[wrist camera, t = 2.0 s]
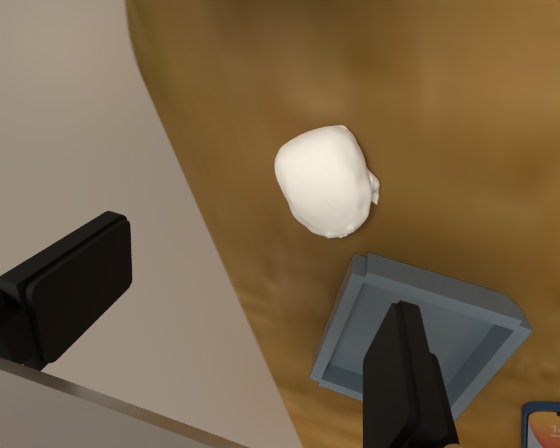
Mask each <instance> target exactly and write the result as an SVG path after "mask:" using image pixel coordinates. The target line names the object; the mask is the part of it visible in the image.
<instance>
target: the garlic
mask: <svg viewBox="0 0 560 448" xmlns="http://www.w3.org/2000/svg"><path fill="white" fill-rule="evenodd" d="M275 174H276V178H277V180H278V183H279V185H280V188H281V190H282V192H283V194H284V196H285V198H286V199H287V201H288V203H289V206H290V210H291V212H292V214H293V216H294V217H295V218H296V219H297V220H298V221H299V222H300V223H301V224H303V225H304V226H306V227H307V228H308V229H309V230H310V231H311V232H313V233H315V234H318V235H321V236H325V237H327V238H334V237H339V238H342V237H343V236H344V237H346V236H347V235H348V234H350V233H352V232H354V231H355V230H357V229H358V228H359V227H360V226H361V225H362V224H363V223H364V221H365V220H366V219H367V217H368V215H369V210H370V204H371V201H372V202H374V203H375V204H377V201H378V197H379V195H378V192H379V188H380V183H379V181H378V179H377V178H376V177H375V176H374V175H373V174H372V173H371V172H370V171H369V170H368V168H367V166H366V162H365V159H364V156H363V153H362V151H361V149H360V147H359V145H358V144H357V141H356V139H355V137H354V135H353V134H352V133H351V132H350V131H349V130H348V129H347V128H346V127H345V126H342V125H339V126H327V127H322V128H318V129H314V130H311V131H308V132H305V133H303V134H301V135H299V136H297V137H296V138H294V139H292V140H290V141H289V142H287V143H286V144H284V145H283V146H282V147H281V148H280V150H279V151H278V154H277V156H276V159H275Z"/></svg>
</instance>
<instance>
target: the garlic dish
mask: <svg viewBox="0 0 560 448" xmlns="http://www.w3.org/2000/svg"><path fill="white" fill-rule="evenodd" d="M400 300H402V301H405V302H409V303H412V304H415V305H418V306H419V308H420V311H421V316H422V320H423V324H424V329H425V333H426V337H427V342H428V346H429V350H430V353H433V354H435V355H436V356H437V358H438V361H439V365H440V369H441V373H442V377H443V381H444V385H445V389H446V393H447V396H448V400H449V404H450V408H451V412H452V416H453V420H454V421H455V420H456V419H457V417H458V416H459V415H460V414H461V413H462V412H463V411H464V409H465V408H466V407H467V406H468V405H469V404H470V403H471V401H472V400H473V399H474V398H475V397H476V396H477V395H478V393H479V392H480V391H481V390H482V389H483V388H484V386H485V385H486V384H487V383H488V382H489V381H490V380H491V378H492V377H493V376H494V375H495V374H496V373H497V372H498V370H499V369H500V368H501V367H502V366H503V365H504V364H505V362H506V361H507V360H508V359H509V358H510V357H511V355H512V354H513V353H514V352H515V351H516V350H517V349H518V347H519V346H520V345H521V344H522V343H523V342H524V341H525V339H526V338H527V337H528V336H529V335H530V334H531V333H532V331H533V329H532V327H531V326H530V324H529V322H528V321H527V319H526V317H525V316H524V314H523V312H522V311H521V309H520V307H519V305H518V304H516V303H513V302H511V300H510V298H509V296H508V295H506V294H503V293H499V292H496V291H493V290H490V289H486V288H483V287H480V286H477V285H473V284H470V283H467V282H464V281H460V280H457V279H454V278H450V277H447V276H444V275H441V274H437V273H434V272H431V271H428V270H424V269H421V268H418V267H415V266H411V265H408V264H405V263H402V262H398V261H395V260H392V259H388V258H385V257H382V256H379V255H375V254H372V253H369V252H368V253H367V255H366V257H364V256H361V255H357V254H353V256H352V259H351V262H350V264H349V267H348V269H347V272H346V274H345V277H344V279H343V282H342V285H341V287H340V290H339V292H338V295H337V297H336V300H335V302H334V305H333V307H332V310H331V313H330V315H329V318H328V320H327V323H326V325H325V328H324V330H323V333H322V336H321V338H320V341H319V343H318V346H317V348H316V351H315V353H314V357H313V363H312V368H311V373H310V379H312V380H315V381H318V382H319V384H318V385H319V386H322V387H324V388H327V389H330V390H333V391H335V392H338V393H341V394H344V395H346V396H349V397H352V398H355V399H358V400H360V401H363V361H364V357H365V354H366V352H367V350H368V349H369V347H370V345H371V343H372V341H373V339H374V337H375V335H376V333H377V331H378V329H379V327H380V325H381V323H382V321H383V319H384V317H385V315H386V313H387V311H388V309H389V308H390V306H391V304H392V303H398V302H399V301H400Z"/></svg>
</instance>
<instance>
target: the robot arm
mask: <svg viewBox="0 0 560 448" xmlns="http://www.w3.org/2000/svg"><path fill="white" fill-rule="evenodd" d="M131 283H132V259H131V232H130V222H129V221H127V218H126V216H124V215H121V214H118V213H114V212H111V211H107V212H104V213H103V214H101V215H100V216H98V217H96V218H95V219H93V220H91V221H90V222H88V223H87V224H85V225H83V226H82V227H80V228H78V229H77V230H75V231H74V232H72V233H70V234H69V235H67V236H65V237H64V238H62V239H60V240H59V241H57V242H56V243H54V244H52V245H51V246H49V247H47V248H46V249H44V250H42V251H41V252H39V253H37V254H36V255H34V256H33V257H31V258H29V259H28V260H26V261H24V262H23V263H21V264H19V265H18V266H16V267H15V268H13V269H11V270H10V271H8V272H6V273H5V274H3V275H1V276H0V448H248V447H246V446H243V445H240V444H238V443H235V442H233V441H230V440H227V439H225V438H222V437H219V436H216V435H214V434H211V433H208V432H206V431H203V430H200V429H198V428H195V427H192V426H189V425H187V424H184V423H181V422H179V421H176V420H173V419H170V418H167V417H165V416H162V415H159V414H157V413H154V412H151V411H149V410H146V409H143V408H140V407H138V406H135V405H132V404H129V403H126V402H124V401H121V400H118V399H115V398H113V397H110V396H107V395H105V394H102V393H99V392H96V391H94V390H91V389H88V388H85V387H83V386H80V385H77V384H74V383H71V382H69V381H66V380H63V379H60V378H58V377H55V376H52V375H49V374H46V373H44V372H41V370H42V369H43V368H44V367H45V366H46V365H47V364H48V363H53V362H55V361H56V360H57V359H58V358H59V357H60V356H61V355H62V354H63V353H64V352H65V351H66V350H67V349H68V348H69V347H70V346H71V345H72V344H73V343H74V342H75V341H76V340H77V339H78V338H79V337H80V336H81V335H82V334H83V333H84V332H85V331H86V330H87V329H88V328H89V327H90V326H91V325H92V324H93V323H94V322H95V321H96V320H97V319H98V318H99V317H100V316H101V315H102V314H103V313H104V312H105V311H106V310H107V309H108V308H109V307H110V306H111V305H112V304H113V303H114V302H115V301H116V300H117V299H118V298H119V297H120V296H121V295H122V294H123V293H124V292H125V291H126V290H127V289H128V288H129V287H130V285H131ZM22 364H23V365H22ZM363 448H467V447H465V446H462V445H460V444H459V440H458V436H457V432H456V428H455V424H454V420H453V416H452V412H451V408H450V404H449V400H448V396H447V393H446V389H445V385H444V381H443V377H442V373H441V369H440V365H439V361H438V358H437V356H436V355H435V354H433V353H430V350H429V346H428V342H427V337H426V333H425V329H424V324H423V320H422V316H421V311H420V308H419V306H418V305H415V304H412V303H409V302H405V301H402V300H400V301H399V302H398V303H392V304H391V306H390V308H389V309H388V311H387V313H386V315H385V317H384V319H383V321H382V323H381V325H380V327H379V329H378V331H377V333H376V335H375V337H374V339H373V341H372V343H371V345H370V347H369V349H368V350H367V352H366V354H365V357H364V361H363Z"/></svg>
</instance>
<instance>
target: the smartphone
mask: <svg viewBox="0 0 560 448" xmlns="http://www.w3.org/2000/svg"><path fill="white" fill-rule="evenodd" d="M521 448H560V402H529V403H526V404H524V405H523V407H522V425H521Z"/></svg>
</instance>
